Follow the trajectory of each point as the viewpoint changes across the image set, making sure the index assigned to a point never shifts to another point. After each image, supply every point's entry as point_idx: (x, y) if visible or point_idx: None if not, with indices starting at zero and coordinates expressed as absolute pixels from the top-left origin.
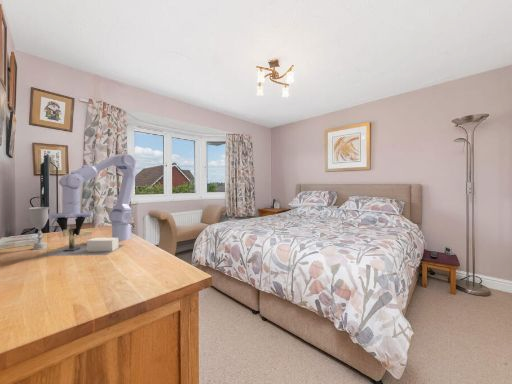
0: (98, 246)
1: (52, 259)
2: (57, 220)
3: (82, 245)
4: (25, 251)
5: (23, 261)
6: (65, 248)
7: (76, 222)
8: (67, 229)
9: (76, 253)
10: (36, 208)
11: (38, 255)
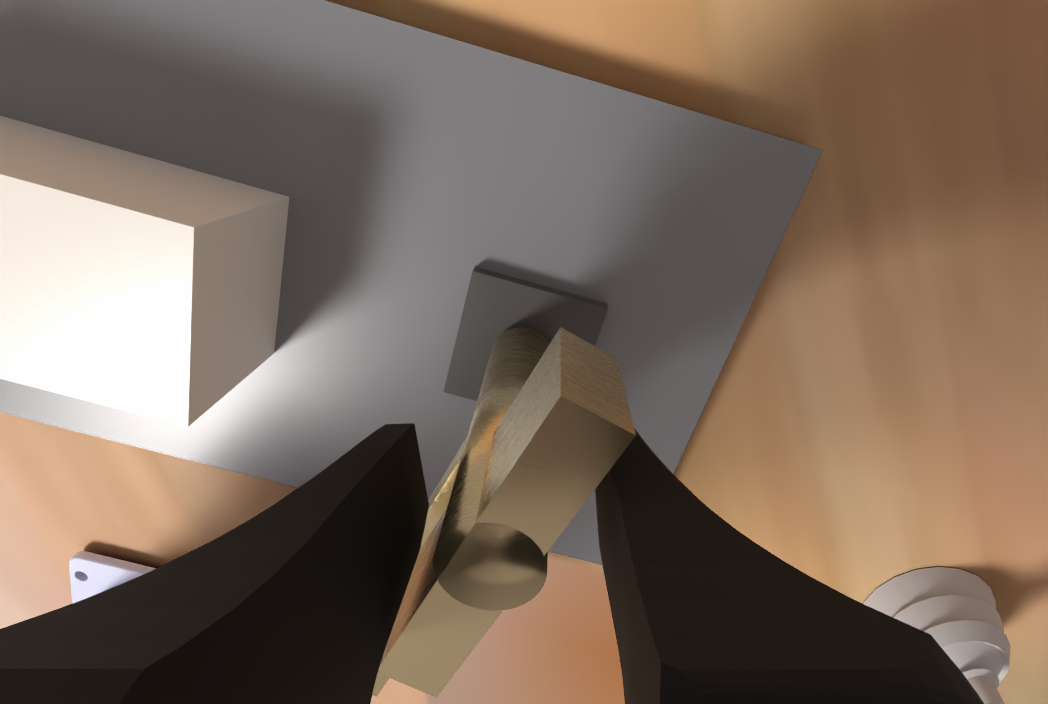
0: (68, 154)
1: (648, 25)
2: (943, 688)
3: None
4: (1044, 531)
5: (996, 42)
6: None
7: (215, 604)
8: (534, 456)
9: (383, 114)
10: None
11: (873, 307)
